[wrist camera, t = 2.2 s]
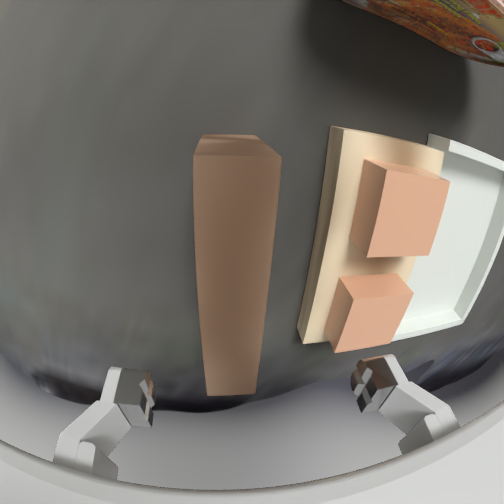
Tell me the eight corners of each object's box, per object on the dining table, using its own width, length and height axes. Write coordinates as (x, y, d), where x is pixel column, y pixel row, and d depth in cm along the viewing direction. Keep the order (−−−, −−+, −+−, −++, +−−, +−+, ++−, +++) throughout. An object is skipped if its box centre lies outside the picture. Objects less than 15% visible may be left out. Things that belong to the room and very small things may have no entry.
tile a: (348, 236, 17) (366, 257, 15) (363, 158, 14) (387, 170, 12) (408, 237, 18) (428, 255, 15) (425, 169, 15) (450, 181, 13)
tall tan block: (206, 320, 22) (207, 395, 16) (202, 134, 15) (193, 155, 9) (243, 320, 22) (255, 393, 16) (254, 135, 15) (282, 157, 9)
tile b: (324, 329, 21) (334, 352, 19) (339, 276, 18) (353, 299, 16) (377, 322, 22) (390, 343, 19) (397, 273, 19) (414, 293, 17)
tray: (373, 325, 25) (383, 342, 23) (428, 132, 16) (450, 139, 14) (451, 310, 26) (462, 323, 24) (504, 162, 17) (521, 170, 15)
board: (296, 326, 23) (302, 344, 21) (330, 125, 15) (343, 129, 14) (376, 317, 24) (385, 332, 23) (426, 145, 16) (444, 152, 15)
